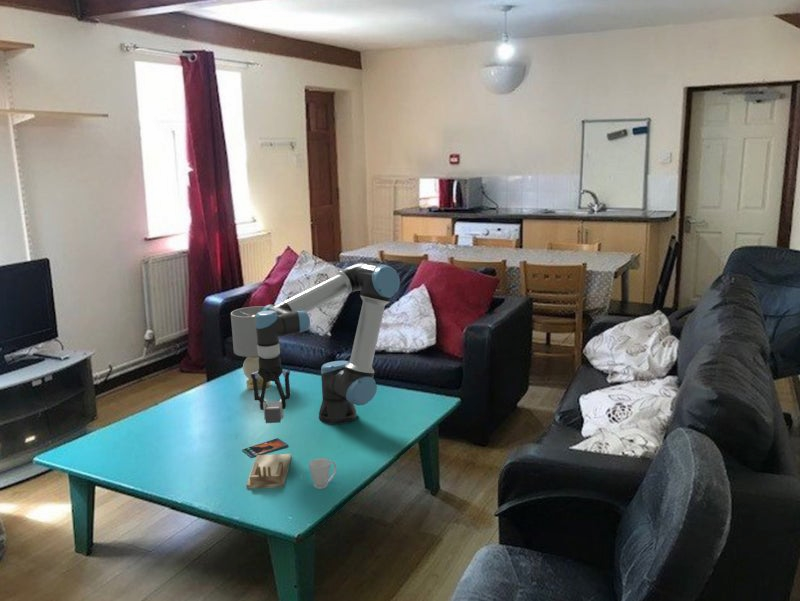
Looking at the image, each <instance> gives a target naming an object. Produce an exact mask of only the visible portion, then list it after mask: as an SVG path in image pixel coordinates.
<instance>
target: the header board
mask: <svg viewBox="0 0 800 601" xmlns="http://www.w3.org/2000/svg"><path fill="white" fill-rule="evenodd" d="M291 459H292V453H285V454H284V453H282V454H281V453H279V454H278V453H277V454H263V455H257V456H256V457H255V460H254V462H253V465H252V468H251V470H250V474H249V476H248V479H247V483H246V489H266V488H267V489H269V488H271V489H272V488H284V487H285V483H286V480H287V476H288V471H289V467H290V463H291Z"/></svg>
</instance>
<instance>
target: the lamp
mask: <svg viewBox="0 0 800 601" xmlns="http://www.w3.org/2000/svg"><path fill="white" fill-rule="evenodd" d="M264 307H265V306H248V307H241V308H237V309H234V310H232V311H231V312H230V321H231V333H232V345H233V347H232V348H233V353H234V354H235V355H236V356H239V357H246V358H245V360H244V362H243V364H242V371H243V375H244V376H245V378H247V380H246V388H247V389H248V390H250V391H254V387H253V380H252V377H251V374H252V372H257V371H258V370H259V360H258V357H259V356H258V348H257V335H256V328H255V316H256V314H257V313H258V312H261V311H262V310H263V308H264ZM263 380H264V379H263V378H262V377H261V376H260V375H258V391H262V385H263ZM271 385H272V381H269V382H267V386H266V389H269V388H270V387H271Z"/></svg>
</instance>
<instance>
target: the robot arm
mask: <svg viewBox="0 0 800 601" xmlns="http://www.w3.org/2000/svg"><path fill="white" fill-rule="evenodd" d="M400 279H401V278H400V276H399V273H398V272H397V270H396V269H394V268H393V267H392V266H389V265H387V264H381V263H377V262H372V261H367V260H366V261H360V262H356V263H354V264H352V265H350V266H347V267H345V268H343V269H340V270H339V271H337V272H336V275H334V276H333V277H330V278H329V279H327V280H324V281H322V282H319V283H318V284H316V285H314V286H313V287H309V288H308V289H307V290H303V291H302V292H300V293H298V294H296V295H294V296H291V297H289V298H288V299H286V300H283V301H282V302H280V303H277V304H267V305H265V306H263V307H264V308H263V310H262V311H261V312H258V313H257V314H256V316H255V328H256V335H257V348H258V356H259V357H258V360H259V370H258V371H257V372H252V374H251V377H252V380H253V387H254V390H253V398H254V401H258V402H259V407H260V411H263V417H264V420H265V408H266V405H267V402H268V401H267V399H265V395H266V390H267V388H266V386H267V382H269V381H271V382H274V384H275V386H276V389H277V392H278V394H279V396H280V397H279V398H280V399H279V400H278V401H279V403H280V414H281V420H283V419H284V416H285V414H284V410H286V407H287V400H289V399H290V398H291V387H290V375H291V370H289V369H288V370H285V369H283V367H282V361H281V355H280V353H281V349H280V348H281V347H280V337H285V336H290V335H295V334H300V333H302V332H306V331H308V330H309V329H310V327H311V319H310V316H309V314H308V312H311V311H312V310H314V309H316V308H318V307H320V306H322V305H324V304H326V303H327V302H330V301H332V300H333V299H335V298H337V297H339V296H341V295H343V294H347V295H348V294H351V293H354V292H357V291H360V294H359V296H360V298H361V300H362V305H361V310H360V314H359V318H358V322H357V323H358V324H357V326H356V332H355V336H354V341H353V344H352V350H351V355H350V359H349V361H347V360H335V361H334V360H333V361H330V362H325V363H324V364H322V366H321V370H320V375H321V376H320V377H321V378H320V379H321V393H322V402H321V404H320V408H319V410H318V411H319V412H318V418H319V421H320V422H321V423H324V424H328V425H344V424H347V423H351V422H353V421H355V420H356V419H357V416H358V415H357V409H356V406H364V405H366V404H369V402H371V401H372V400H373V399H374V398H375V396H376V394H377V391H378V390H377V389H378V386H377V385H378V384H377V383H376V381H375V379H374V375H375V370H374V368H373V367H372V366H373V362H374V357H375V353H376V348H377V343H378V339H379V335H380V330H381V325H382V320H383V316H384V311H385V306H386V305H388V304H390V302H391V298H392V297H394V296H395V294H397V293H398V291H399V288H400V285H401V283H400V282H401V280H400ZM258 375H260V376H261V377H262V378H263V379H264V380H263V385H262V390H260V393H259V390H258ZM281 375H282V377H284V385H285V391H284V388H283V385H282V383H281V379H280V377H281ZM355 405H356V406H355ZM265 421H266V420H265Z"/></svg>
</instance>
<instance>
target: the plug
mask: <svg viewBox="0 0 800 601" xmlns="http://www.w3.org/2000/svg"><path fill="white" fill-rule="evenodd" d="M279 401H280V400H274V401H273V400H272V401H266V402H267V405H266V408H265V424H275V423H276V424H278V423H280V424H281V421H282V419H281V414H280V403H279Z"/></svg>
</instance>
